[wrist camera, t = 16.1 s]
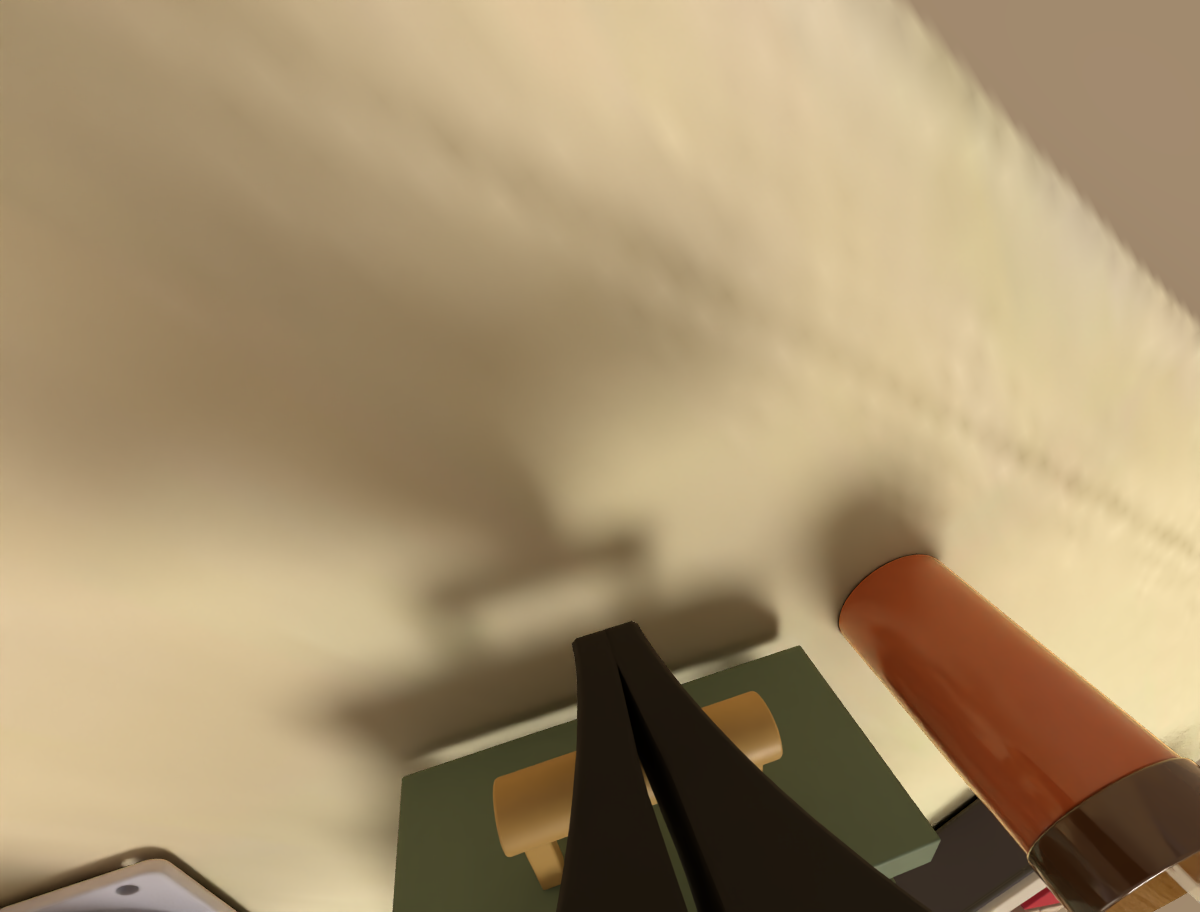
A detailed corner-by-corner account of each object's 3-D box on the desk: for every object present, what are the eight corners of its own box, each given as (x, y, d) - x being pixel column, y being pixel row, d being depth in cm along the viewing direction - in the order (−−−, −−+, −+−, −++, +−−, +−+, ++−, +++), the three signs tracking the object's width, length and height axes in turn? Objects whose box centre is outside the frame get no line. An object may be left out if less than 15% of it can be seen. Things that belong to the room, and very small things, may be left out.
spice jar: (830, 658, 19) (1058, 955, 12) (842, 573, 17) (1136, 878, 10) (932, 623, 20) (1208, 886, 13) (958, 536, 17) (1314, 798, 10)
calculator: (1012, 947, 37) (916, 975, 29) (960, 876, 40) (863, 885, 33) (1144, 861, 34) (1076, 867, 26) (1076, 793, 37) (998, 781, 30)
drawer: (347, 695, 13) (288, 1017, 8) (809, 554, 15) (986, 747, 10) (497, 921, 21) (512, 1149, 16) (782, 812, 23) (873, 987, 18)
